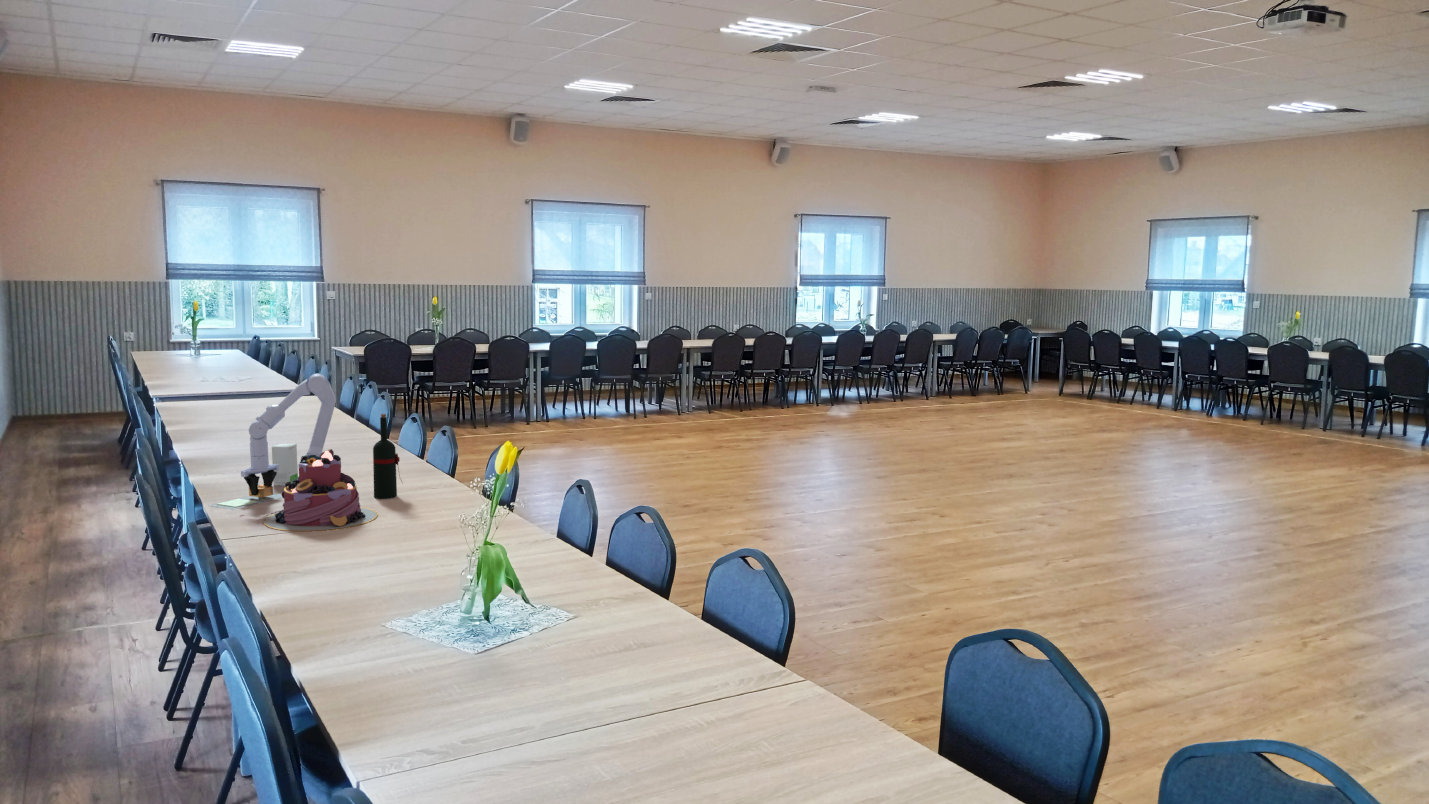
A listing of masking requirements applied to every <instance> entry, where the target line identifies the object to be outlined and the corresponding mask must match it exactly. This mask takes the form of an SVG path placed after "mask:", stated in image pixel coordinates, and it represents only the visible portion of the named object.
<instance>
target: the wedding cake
mask: <svg viewBox="0 0 1429 804" xmlns="http://www.w3.org/2000/svg"><path fill="white" fill-rule="evenodd" d="M305 455H306V454H305ZM305 455H302V456H300V460H299V462H298V463H297V466H298V479H295V480H293V482H287V483H286V484H285V486H284V488H283V491H282V492H281V495H282V498H281V499H283V500H284V501H283V503H282V507H283V510H280V511H278V512H277V513H274V514H271V515H269V516H267V517H266V518H265V519H263V525H264V526H265V527H266V528H269V529H271V530H277V531H281V532H291V533H292V532H294V533H297V532H298V533H311V532H312V531H317V532H328V531H327V530H330V531H337V530H336V529H339V530H344V528H345V529H350V528H355V527H359V526H362V525H366V524H368V522H369V523H371V522H373V521H374V520H376V519H377V518H378V517H379V515H378V512H377V511H376V510H374V509H372V508H368V507H362V506H361V504H360V494H359V492H358V490H357V484H356V482H355V479H354V478H353V477H351V476H350V475H348V474H345V473H344V472H342V461H341V459H342V458H341V457H340V455H338V454H335V453H334V450H333V449H332V448H330V449H328V450H326V451H322V453H321V455H320V456H316V455H315V454H311V455H310V456H309V455H306V456H305ZM349 527H350V528H349ZM312 533H313V532H312Z"/></svg>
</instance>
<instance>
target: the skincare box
mask: <svg viewBox="0 0 1429 804" xmlns="http://www.w3.org/2000/svg"><path fill="white" fill-rule="evenodd" d="M297 446H298V445H297V443H279V444H275V445H273V446H271V457H272V458H271V460H272V462H271V463H272V464H278V465H279V470H274V471H275V472H277V475H276V476H275V478H274V480H273V483H272V486H279V487H281V486H282V487H283V486H284V487H285V484H286V483H287V482H293V480H295V479H298V477H299V465H298V448H297Z"/></svg>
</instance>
